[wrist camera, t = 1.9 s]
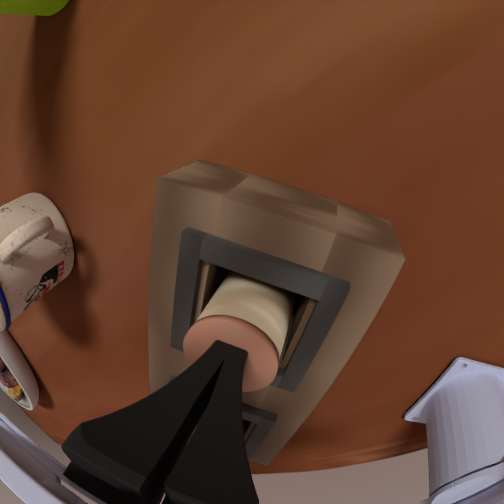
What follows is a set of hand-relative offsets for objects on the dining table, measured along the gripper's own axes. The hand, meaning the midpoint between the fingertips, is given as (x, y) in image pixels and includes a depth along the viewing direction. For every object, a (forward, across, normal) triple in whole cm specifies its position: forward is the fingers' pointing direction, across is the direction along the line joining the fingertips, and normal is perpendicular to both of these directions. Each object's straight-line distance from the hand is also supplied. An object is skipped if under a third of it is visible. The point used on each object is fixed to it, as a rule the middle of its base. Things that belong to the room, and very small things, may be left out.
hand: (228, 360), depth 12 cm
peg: (+5, 0, 0) cm, 5 cm away
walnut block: (+8, 0, +6) cm, 9 cm away
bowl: (+8, +47, +38) cm, 61 cm away
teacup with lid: (+8, +19, +4) cm, 21 cm away
